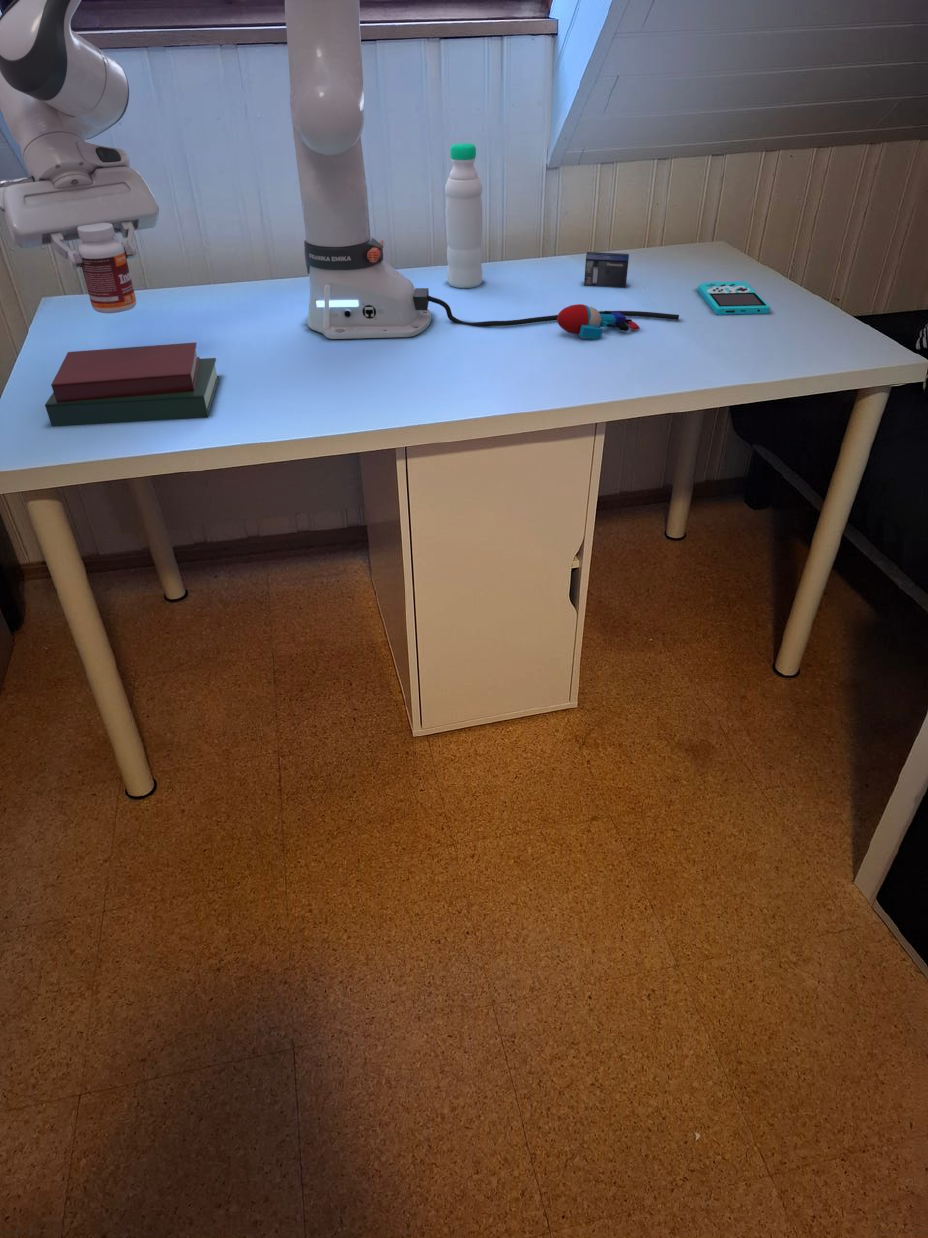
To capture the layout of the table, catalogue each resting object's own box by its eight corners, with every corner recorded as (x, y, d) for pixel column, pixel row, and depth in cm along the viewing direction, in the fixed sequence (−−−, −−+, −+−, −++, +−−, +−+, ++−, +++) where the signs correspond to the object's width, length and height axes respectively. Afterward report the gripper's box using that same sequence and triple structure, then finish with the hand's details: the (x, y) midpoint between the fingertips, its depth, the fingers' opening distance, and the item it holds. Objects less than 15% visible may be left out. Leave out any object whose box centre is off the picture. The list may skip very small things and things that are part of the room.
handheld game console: (745, 286, 171) (747, 279, 170) (771, 313, 158) (772, 306, 157) (695, 288, 170) (696, 280, 170) (716, 314, 158) (717, 307, 157)
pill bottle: (136, 312, 124) (116, 230, 117) (90, 316, 123) (68, 233, 116) (139, 299, 128) (120, 219, 122) (95, 302, 127) (73, 222, 121)
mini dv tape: (584, 285, 173) (586, 253, 169) (584, 283, 174) (587, 251, 170) (625, 287, 171) (628, 255, 168) (626, 285, 173) (629, 253, 169)
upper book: (199, 358, 135) (196, 342, 134) (194, 391, 125) (190, 373, 123) (72, 368, 133) (67, 351, 131) (56, 402, 123) (51, 384, 121)
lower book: (219, 377, 137) (215, 357, 135) (207, 416, 126) (203, 395, 124) (77, 385, 136) (71, 365, 134) (51, 425, 124) (44, 404, 122)
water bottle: (483, 278, 177) (483, 140, 162) (480, 289, 172) (480, 147, 157) (449, 278, 178) (446, 140, 163) (445, 288, 172) (441, 147, 157)
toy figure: (618, 327, 158) (546, 324, 152) (626, 300, 155) (552, 296, 149) (639, 344, 152) (564, 341, 147) (647, 316, 149) (572, 312, 144)
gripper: (-17, 166, 114) (27, 260, 114) (136, 148, 123) (176, 235, 123) (-13, 197, 120) (28, 287, 119) (133, 178, 129) (172, 261, 129)
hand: (105, 260), depth 121 cm, fingers closed on pill bottle, 6 cm apart
